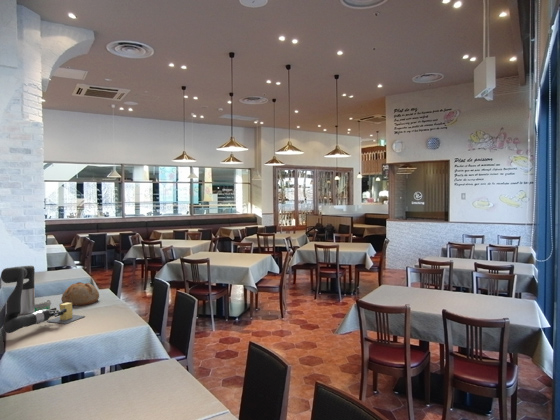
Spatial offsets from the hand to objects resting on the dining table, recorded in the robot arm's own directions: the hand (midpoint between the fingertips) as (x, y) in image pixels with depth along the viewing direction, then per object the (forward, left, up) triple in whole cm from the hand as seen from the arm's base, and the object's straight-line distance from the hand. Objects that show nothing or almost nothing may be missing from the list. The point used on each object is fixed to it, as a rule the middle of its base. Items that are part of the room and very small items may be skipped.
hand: (61, 309), depth 252 cm
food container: (-19, -2, -8) cm, 21 cm away
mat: (-1, +4, -8) cm, 9 cm away
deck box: (-1, +4, -7) cm, 8 cm away
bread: (-39, +30, -8) cm, 50 cm away
